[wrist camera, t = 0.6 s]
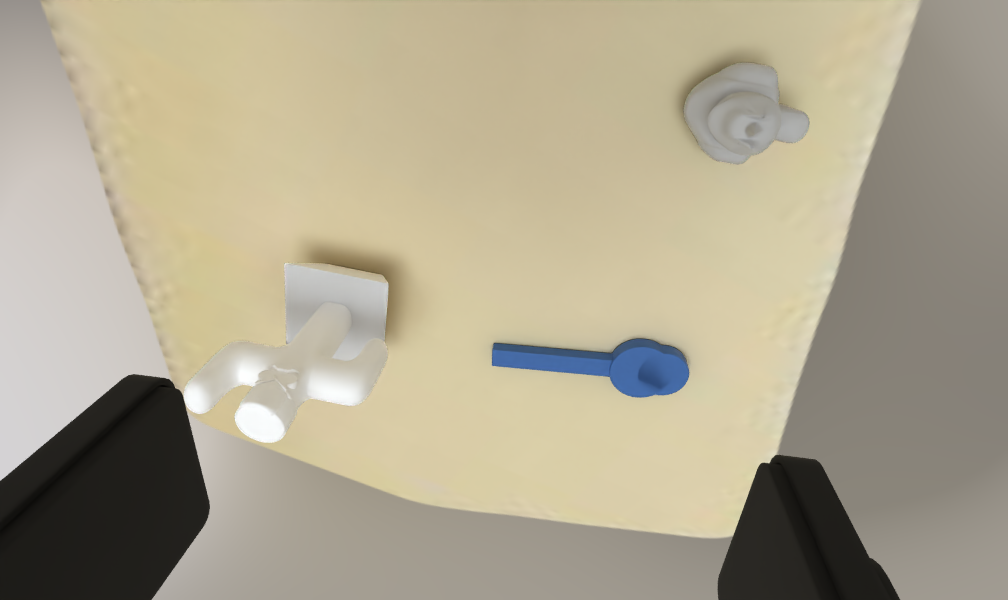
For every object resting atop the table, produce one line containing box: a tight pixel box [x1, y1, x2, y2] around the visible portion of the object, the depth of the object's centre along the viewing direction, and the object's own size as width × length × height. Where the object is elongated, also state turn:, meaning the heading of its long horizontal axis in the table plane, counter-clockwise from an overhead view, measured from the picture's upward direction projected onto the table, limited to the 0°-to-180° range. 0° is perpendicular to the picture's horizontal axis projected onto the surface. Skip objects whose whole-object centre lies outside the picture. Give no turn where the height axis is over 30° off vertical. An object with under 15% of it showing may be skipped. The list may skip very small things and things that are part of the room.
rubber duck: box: [683, 62, 809, 164], centre depth 31 cm, size 5×7×8 cm
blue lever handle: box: [492, 339, 689, 398], centre depth 44 cm, size 15×5×1 cm, turn 88°
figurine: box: [184, 263, 389, 443], centre depth 37 cm, size 7×9×15 cm
